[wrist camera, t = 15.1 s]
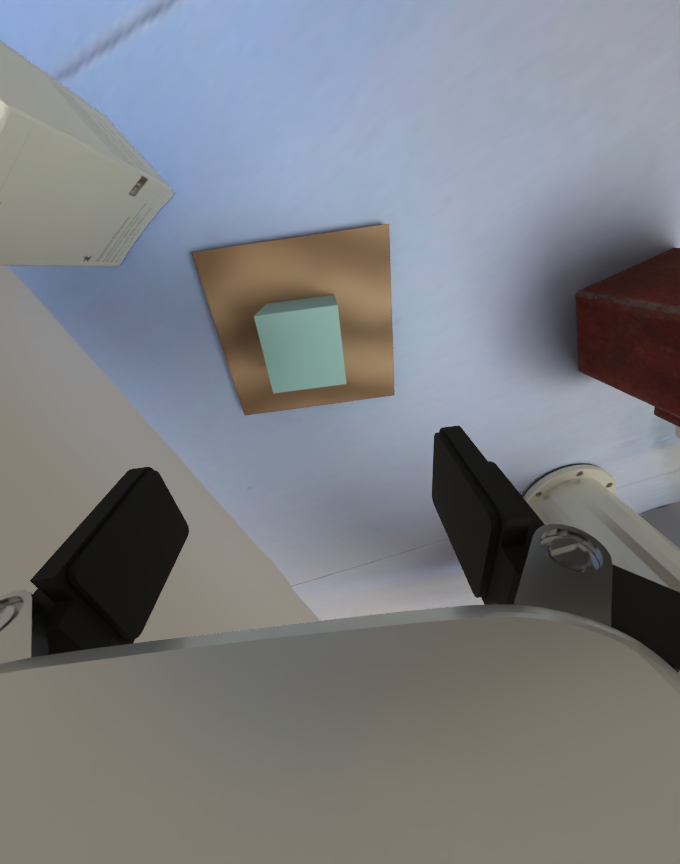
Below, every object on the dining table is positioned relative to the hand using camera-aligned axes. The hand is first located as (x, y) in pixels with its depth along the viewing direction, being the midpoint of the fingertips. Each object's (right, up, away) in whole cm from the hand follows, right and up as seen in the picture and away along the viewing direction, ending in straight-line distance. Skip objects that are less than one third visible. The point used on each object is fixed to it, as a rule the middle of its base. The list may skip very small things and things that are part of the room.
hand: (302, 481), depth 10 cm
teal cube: (-2, +11, +18) cm, 21 cm away
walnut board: (-2, +12, +19) cm, 22 cm away
